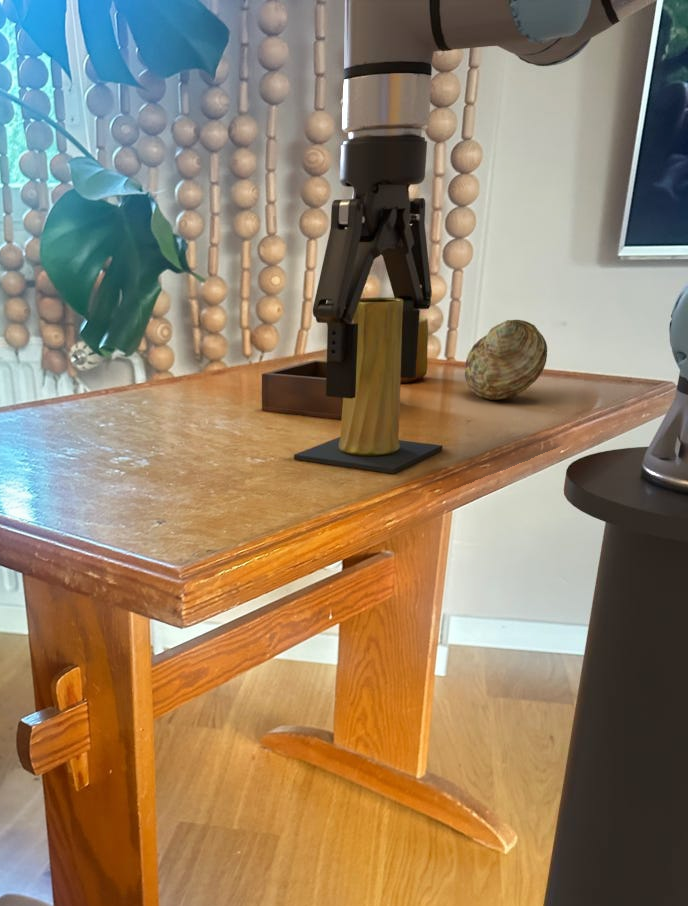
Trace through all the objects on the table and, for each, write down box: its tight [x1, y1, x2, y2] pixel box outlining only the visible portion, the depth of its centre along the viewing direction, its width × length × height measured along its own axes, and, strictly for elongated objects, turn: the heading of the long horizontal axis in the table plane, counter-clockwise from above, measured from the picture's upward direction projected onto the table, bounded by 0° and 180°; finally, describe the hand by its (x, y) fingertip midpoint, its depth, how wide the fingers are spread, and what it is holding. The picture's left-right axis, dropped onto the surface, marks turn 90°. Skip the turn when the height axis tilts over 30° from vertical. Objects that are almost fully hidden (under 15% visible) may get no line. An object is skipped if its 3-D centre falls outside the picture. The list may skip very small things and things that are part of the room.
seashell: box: [464, 319, 548, 401], centre depth 117 cm, size 11×11×10 cm
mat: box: [293, 436, 444, 475], centre depth 93 cm, size 11×11×1 cm
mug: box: [400, 316, 429, 384], centre depth 133 cm, size 12×10×10 cm
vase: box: [339, 296, 403, 456], centre depth 90 cm, size 6×6×14 cm
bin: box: [261, 359, 343, 421], centre depth 115 cm, size 13×13×4 cm
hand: (372, 386), depth 90 cm, fingers open, 12 cm apart
